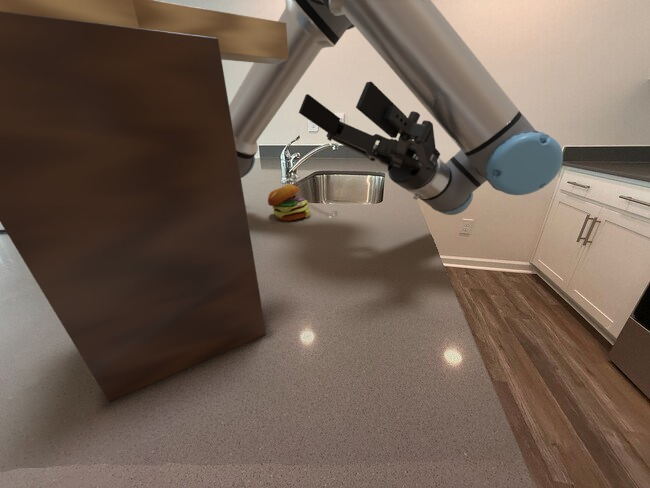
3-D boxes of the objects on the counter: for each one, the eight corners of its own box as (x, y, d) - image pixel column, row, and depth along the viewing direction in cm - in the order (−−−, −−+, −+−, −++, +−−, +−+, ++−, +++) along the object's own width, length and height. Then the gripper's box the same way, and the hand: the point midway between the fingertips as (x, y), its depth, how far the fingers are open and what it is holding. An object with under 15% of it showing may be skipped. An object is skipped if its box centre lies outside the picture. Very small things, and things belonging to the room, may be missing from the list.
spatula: (-66, 5, 13) (-110, -79, 12) (17, 52, 22) (-3, 6, 20) (307, 50, 24) (305, 8, 22) (265, 70, 32) (262, 40, 31)
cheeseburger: (306, 223, 67) (294, 186, 63) (270, 230, 70) (257, 195, 67) (315, 210, 76) (305, 177, 72) (282, 217, 79) (271, 185, 75)
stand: (108, 402, 25) (-140, -8, 12) (119, 327, 34) (-15, 50, 21) (266, 334, 32) (218, 37, 20) (240, 288, 42) (195, 66, 29)
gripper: (476, 207, 36) (386, 129, 23) (363, 179, 55) (278, 128, 42) (503, 156, 35) (424, 45, 22) (378, 145, 54) (296, 82, 41)
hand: (328, 99), depth 32 cm, fingers open, 13 cm apart
